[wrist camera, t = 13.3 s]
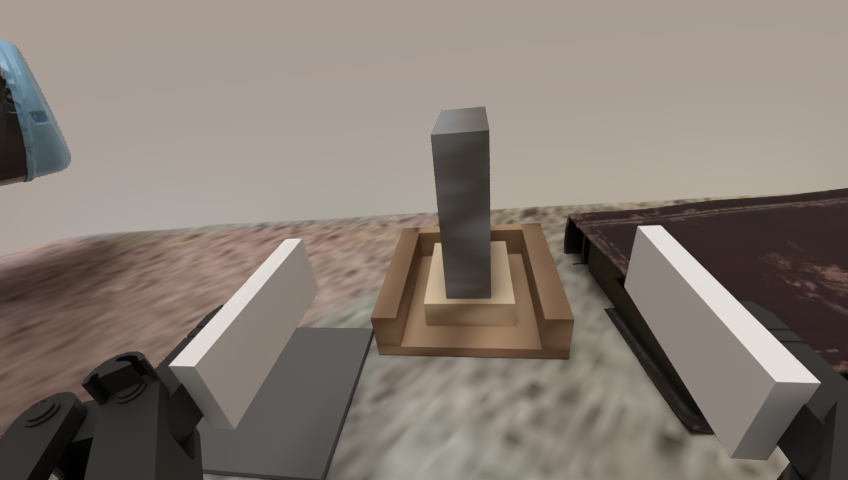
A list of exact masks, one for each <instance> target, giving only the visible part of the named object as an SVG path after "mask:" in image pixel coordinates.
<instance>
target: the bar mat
mask: <svg viewBox="0 0 848 480" xmlns="http://www.w3.org/2000/svg"><path fill="white" fill-rule="evenodd" d="M373 334H374V330H373V329H363V328H296V329H295V331H294V332H293V334H292V336H291V337H290V339H289V341H288V342H287V344H286V346H285V347H284V349H283V351H282V352H281V354H280V356H279V357H278V359H277V360H276V362H275V364H274V365H273V367H272V369H271V370H270V372H269V374H268V375H267V377H266V379H265V380H264V382H263V384H262V385H261V387H260V389H259V390H258V392H257V394H256V395H255V397H254V399H253V400H252V402H251V403H250V405H249V407H248V408H247V410H246V412H245V413H244V415H243V417H242V418H241V420H240V422H239V423H238V425H237V427H236V428H235V430H233V429H215V428H211V426H210V425H209V424H208V422H207V421H206V419H205V418H204V416H203V418H202V419H201V420H200V422H199V423H198V425H197V426H196V428H197V429H198V431H199V433H200V440H201V454H202V468H203V473H209V474H220V475H231V476H243V477H254V478H265V479H276V480H325V477H326V474H327V471H328V468H329V465H330V462H331V459H332V456H333V453H334V450H335V447H336V444H337V441H338V438H339V435H340V432H341V429H342V426H343V423H344V420H345V417H346V414H347V411H348V409H349V406H350V403H351V400H352V397H353V394H354V391H355V388H356V385H357V382H358V379H359V376H360V373H361V370H362V367H363V364H364V361H365V358H366V355H367V352H368V349H369V346H370V343H371V340H372V337H373Z"/></svg>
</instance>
